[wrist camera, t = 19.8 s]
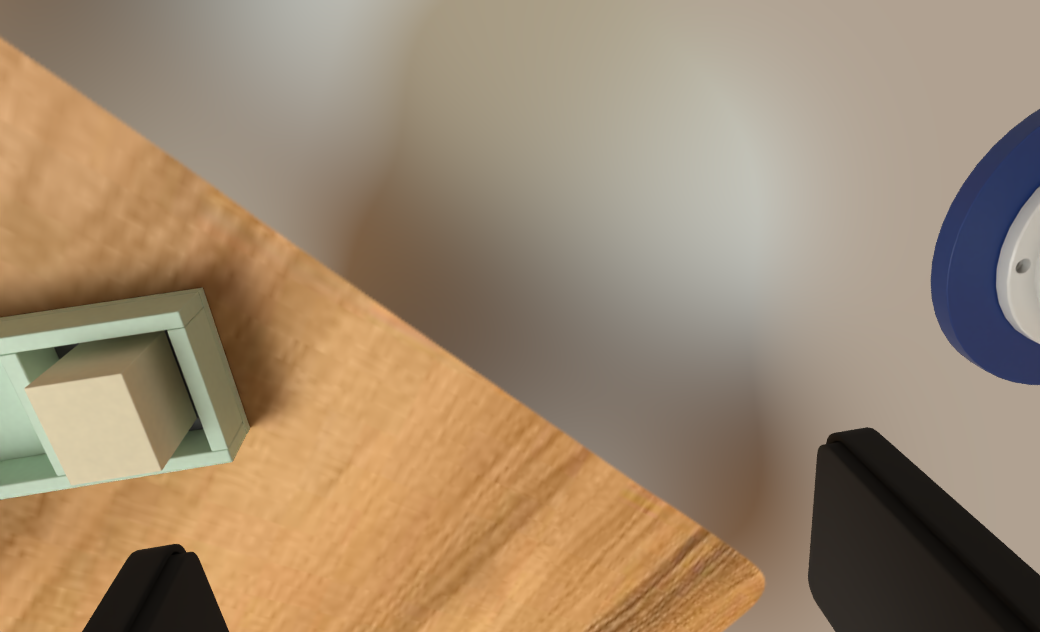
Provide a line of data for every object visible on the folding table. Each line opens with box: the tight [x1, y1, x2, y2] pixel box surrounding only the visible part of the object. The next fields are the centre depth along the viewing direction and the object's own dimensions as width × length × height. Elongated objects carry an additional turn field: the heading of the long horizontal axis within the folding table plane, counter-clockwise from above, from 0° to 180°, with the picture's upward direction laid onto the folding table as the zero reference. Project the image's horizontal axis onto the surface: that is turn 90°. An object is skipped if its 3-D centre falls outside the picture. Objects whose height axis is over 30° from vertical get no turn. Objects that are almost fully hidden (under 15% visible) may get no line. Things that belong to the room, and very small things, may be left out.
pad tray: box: [0, 288, 250, 500], centre depth 31 cm, size 8×15×3 cm, turn 97°
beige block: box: [24, 331, 197, 485], centre depth 30 cm, size 4×5×4 cm
